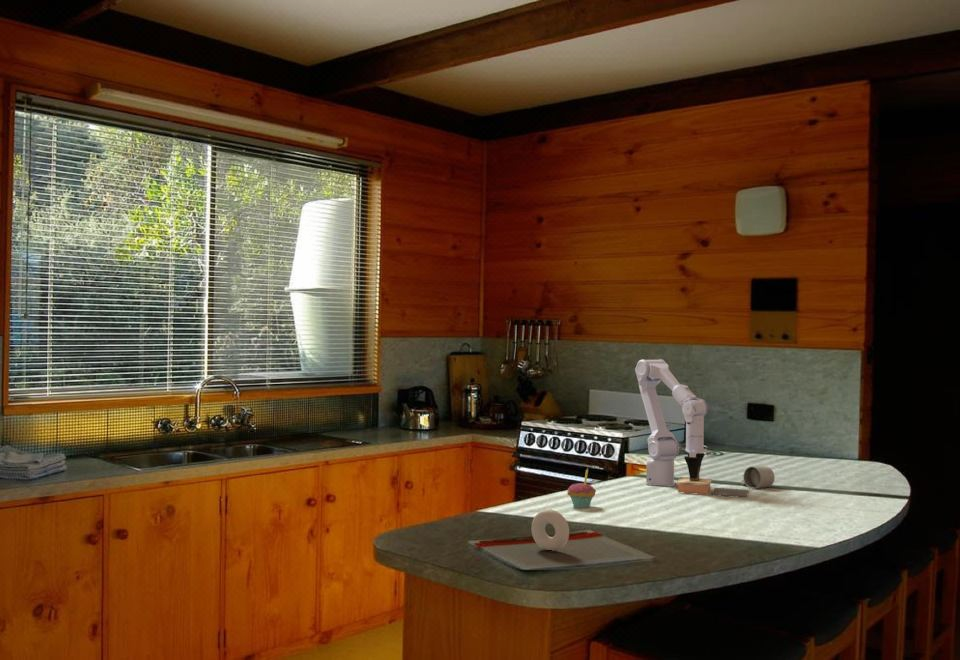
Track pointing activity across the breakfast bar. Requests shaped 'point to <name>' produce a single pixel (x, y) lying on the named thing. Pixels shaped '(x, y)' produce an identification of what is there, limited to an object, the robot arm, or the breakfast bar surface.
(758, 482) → the ceramic mug
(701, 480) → the lid
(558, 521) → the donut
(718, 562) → the breakfast bar surface
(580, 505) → the cupcake
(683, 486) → the dish
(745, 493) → the mat
